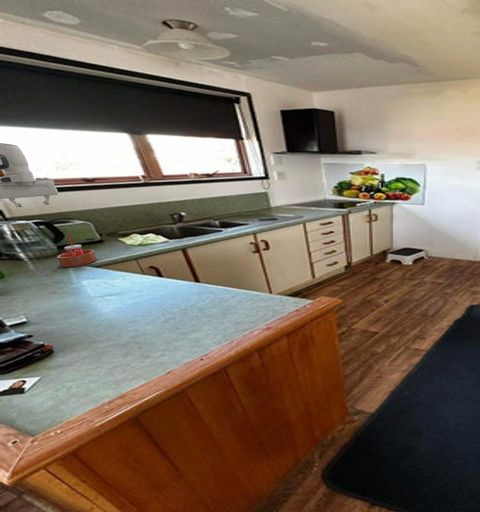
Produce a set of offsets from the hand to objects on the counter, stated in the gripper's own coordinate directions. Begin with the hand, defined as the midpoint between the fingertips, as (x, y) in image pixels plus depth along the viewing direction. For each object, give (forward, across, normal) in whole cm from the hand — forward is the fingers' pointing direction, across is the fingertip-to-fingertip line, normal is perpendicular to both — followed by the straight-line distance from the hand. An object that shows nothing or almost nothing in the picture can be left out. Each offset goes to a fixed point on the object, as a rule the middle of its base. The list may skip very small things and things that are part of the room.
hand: (33, 205), depth 141 cm
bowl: (+30, -2, +20) cm, 36 cm away
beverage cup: (+30, -2, +20) cm, 36 cm away
